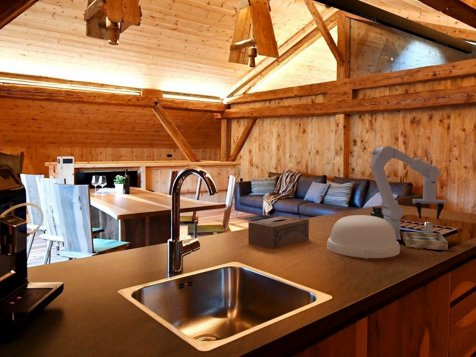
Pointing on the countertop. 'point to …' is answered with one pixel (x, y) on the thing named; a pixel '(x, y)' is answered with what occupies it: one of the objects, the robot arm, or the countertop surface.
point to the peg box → (425, 240)
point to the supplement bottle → (377, 212)
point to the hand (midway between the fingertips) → (428, 218)
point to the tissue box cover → (278, 231)
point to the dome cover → (363, 237)
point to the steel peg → (428, 227)
